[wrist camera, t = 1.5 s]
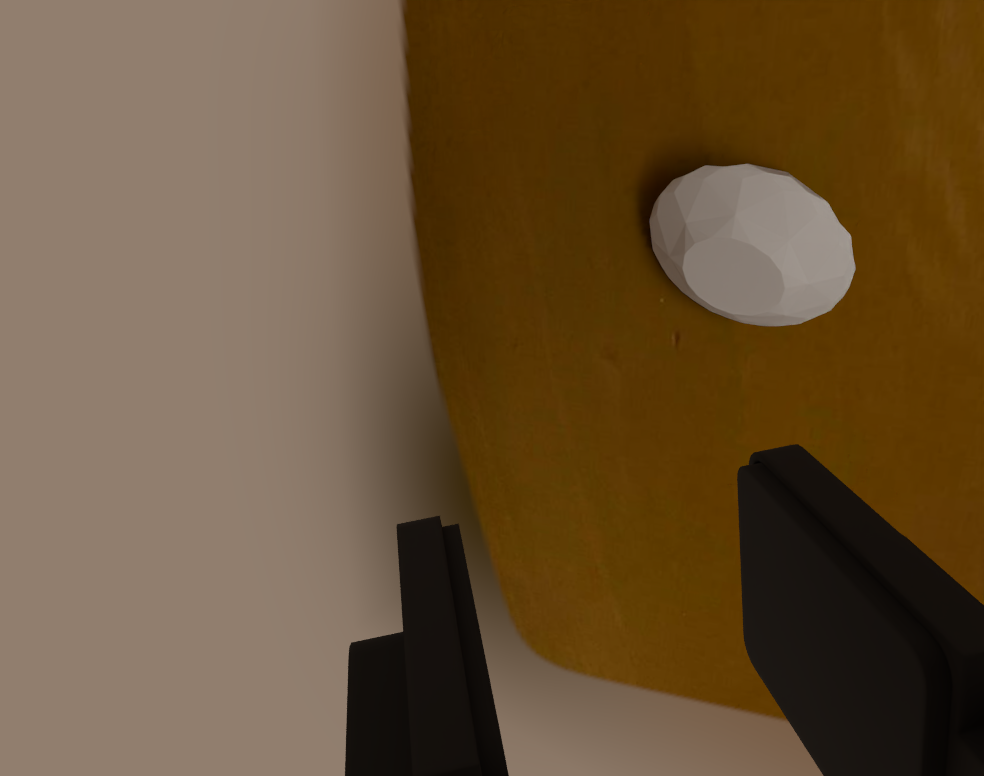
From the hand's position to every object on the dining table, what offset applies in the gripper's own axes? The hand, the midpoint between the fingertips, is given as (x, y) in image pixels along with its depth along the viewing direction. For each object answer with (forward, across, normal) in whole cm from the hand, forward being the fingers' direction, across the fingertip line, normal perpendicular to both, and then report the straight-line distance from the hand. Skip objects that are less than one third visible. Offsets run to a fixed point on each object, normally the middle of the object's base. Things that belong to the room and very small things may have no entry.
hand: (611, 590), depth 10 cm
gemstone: (+17, -8, 0) cm, 19 cm away
